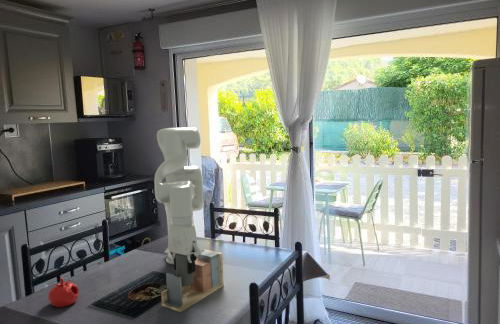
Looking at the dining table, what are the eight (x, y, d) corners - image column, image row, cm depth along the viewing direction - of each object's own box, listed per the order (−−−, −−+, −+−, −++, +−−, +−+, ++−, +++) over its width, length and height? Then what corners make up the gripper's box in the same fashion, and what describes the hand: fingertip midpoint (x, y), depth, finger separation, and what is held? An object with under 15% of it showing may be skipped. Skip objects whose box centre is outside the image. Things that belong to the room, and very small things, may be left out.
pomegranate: (51, 313, 128) (48, 287, 127) (46, 302, 137) (43, 278, 135) (82, 303, 134) (79, 279, 133) (76, 293, 142) (73, 270, 141)
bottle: (196, 280, 135) (194, 239, 134) (188, 287, 130) (186, 244, 128) (182, 278, 137) (179, 238, 136) (173, 285, 132) (171, 243, 130)
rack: (161, 305, 131) (159, 269, 129) (205, 280, 150) (204, 249, 148) (180, 312, 126) (178, 275, 124) (223, 285, 145) (222, 253, 143)
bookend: (164, 303, 130) (162, 275, 129) (169, 300, 132) (167, 272, 131) (177, 308, 126) (175, 279, 125) (182, 305, 128) (181, 276, 127)
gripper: (156, 220, 133) (159, 269, 135) (193, 226, 123) (196, 279, 125) (172, 215, 139) (175, 262, 141) (208, 220, 129) (210, 271, 131)
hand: (184, 270), depth 133 cm, fingers closed on bottle, 5 cm apart
